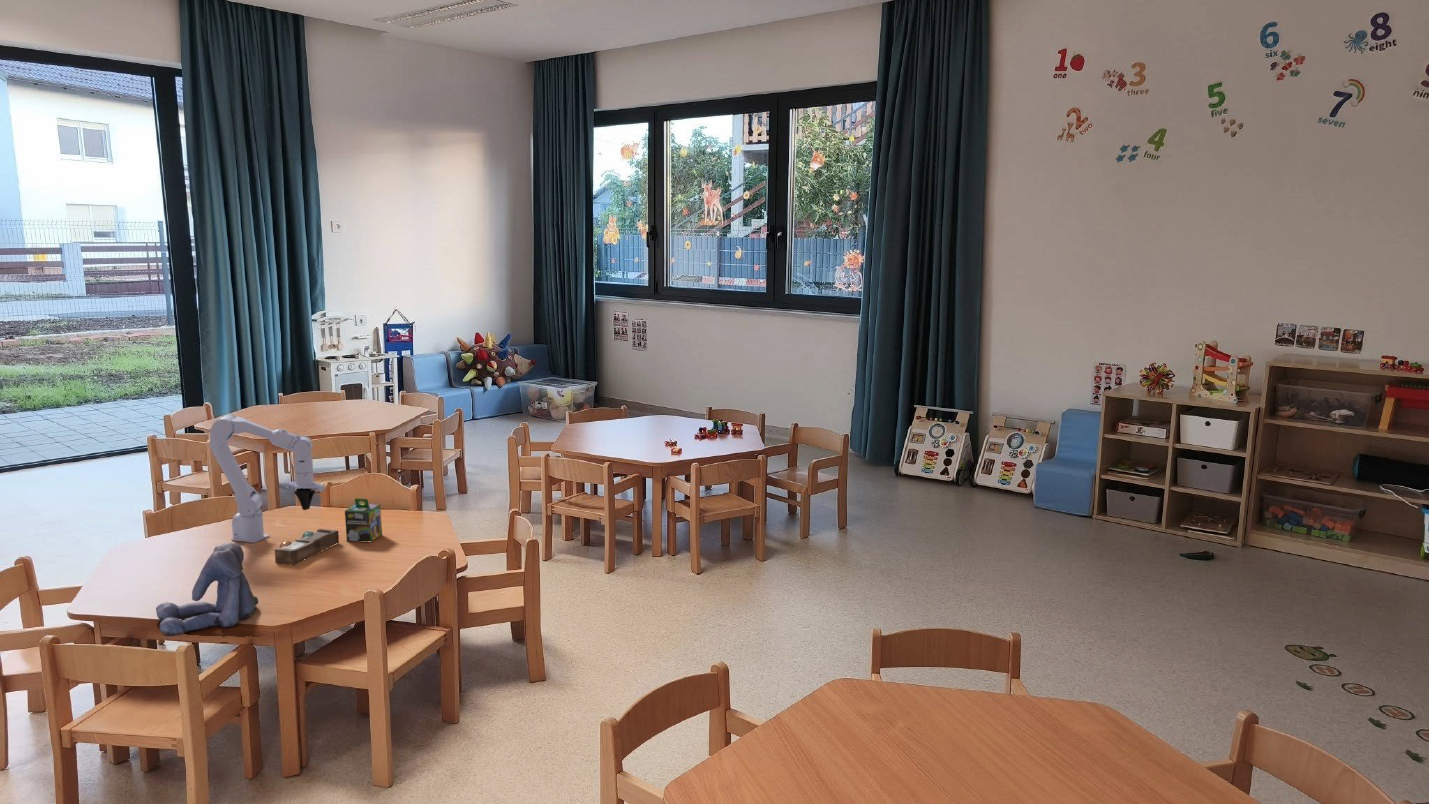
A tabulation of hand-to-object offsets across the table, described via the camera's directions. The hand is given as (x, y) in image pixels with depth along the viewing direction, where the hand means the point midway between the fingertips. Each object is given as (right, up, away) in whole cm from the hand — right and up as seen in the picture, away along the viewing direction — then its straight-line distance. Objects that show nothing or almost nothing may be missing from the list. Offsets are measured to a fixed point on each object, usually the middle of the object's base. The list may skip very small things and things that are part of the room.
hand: (306, 509), depth 324 cm
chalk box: (+20, -11, +1) cm, 23 cm away
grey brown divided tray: (+8, -13, -15) cm, 22 cm away
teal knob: (+7, -11, -10) cm, 17 cm away
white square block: (+5, -13, -21) cm, 25 cm away
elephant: (+4, -22, -70) cm, 73 cm away
